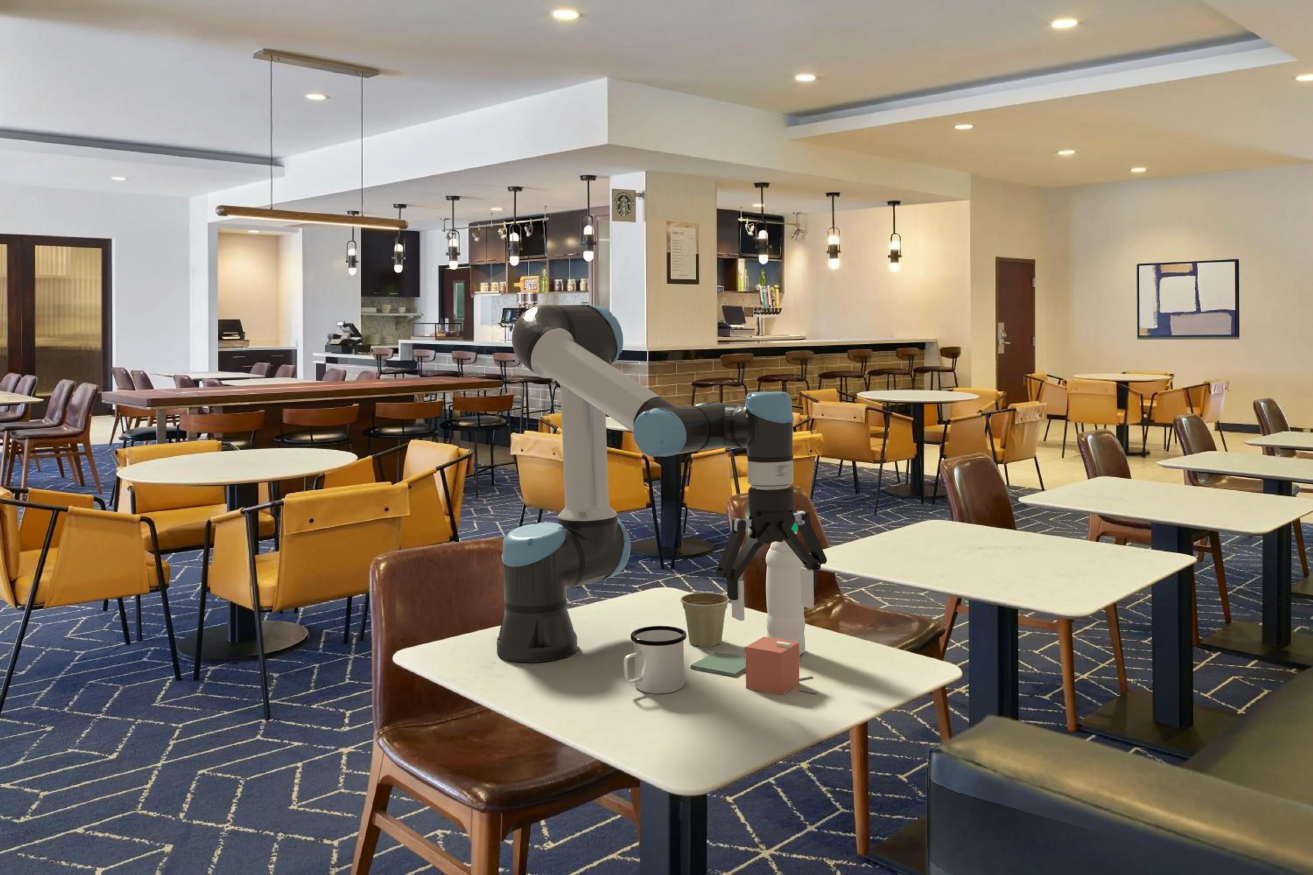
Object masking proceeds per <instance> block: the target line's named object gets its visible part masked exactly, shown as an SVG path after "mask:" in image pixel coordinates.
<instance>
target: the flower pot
mask: <svg viewBox="0 0 1313 875" xmlns="http://www.w3.org/2000/svg"><path fill="white" fill-rule="evenodd" d="M730 601H731V599H729V598H728V596H727V594H722V593H717V592H709V591H708V592H705V591H703V592H694V593H688V594H685V595H683V596H681V597H680V602H681V604H682V608H683V610H684V613H685V614H684V615H685V622H686V628H687V637H688V641H689V644H691V645H692V646H699V647H702V648H707V647H715V646H717V645H719V644H722V640H723V633H724V625H725V617H726V610H727V609H728V603H729V602H730Z"/></svg>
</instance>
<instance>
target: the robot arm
mask: <svg viewBox="0 0 1313 875" xmlns="http://www.w3.org/2000/svg"><path fill="white" fill-rule="evenodd" d="M511 344H512V348H513V352H514V354H515V356H516V358H517V359H518V360H519V361H520V363H521V364H523V366H524V367H525V368H526V369H528V370H529V371H531V372H532V373H534V374H535V375H537V376H538V377H540V378H542V379H550V378H551V379H553V380H554V381H556V382H557V383H558V384H559V385H560V388H559V389H560V408H561V409H560V410H561V411H560V412H561V434H562V436H561V437H562V460H563V486H564V505H565V506H564V508H563V509H562V510H561V511H560V512H559V514H557V522H550V521H549V522H547V521H546V522H538V523H530V524H525V525H522V526H519V527H516V528H514V529H512V530H511V531H509V532H508V533H507V534H506V535H505V536H504V538H503V541H502V554H501V562H502V567H503V568H502V570H503V572H502V573H503V594H504V600H503V601H504V614H503V618H502V621H501V624H500V629H499V632H498V637H497V638H496V654H497V655H498V657H499V658H501V659H504V660H507V661H510V662H516V663H517V662H519V663H542V662H550V661H557V660H560V659H565V658H566V657H570V656H571V655H573V654H575V653H576V652H577V651H578V635H577V633H576V632H575V629H574V626H573V622H572V619H571V617H570V612H569V611H568V604H567V603H568V602H567V601H568V599H567V598H568V596H567V595H568V594H567V589H574V588H576V587H580V586H583V585H588V584H592V583H600V582H604V581H606V580H607V579H609V578H613V577H616V576H617V575H618V574H620V573H621V572H622V571H623V569H624V568H626V566H627V563H628V561H629V558H630V555H631V549H632V548H631V537H630V534H629V532H628V531H626V527H625V525H624V524H623V523H622V522H621V521H620V520H618V513H617V511H616V510H615V509H613V507H611V506H610V499H609V495H610V494H609V473H608V472H609V471H608V467H609V466H608V448H607V447H608V444H607V439H608V438H607V418H606V416H607V417H610V418H611V419H613V420H614V421H615V422H617V423H618V424H620V425H621V426H623V427H625V429H627V430H629V431H631V433H632V434H633V440H634V443H635V444H636V445H637V447H638V449H639V451H640V452H641V453H643V454H644V455H646V456H649V457H662V458H663V457H664V458H665V457H670V456H676V455H681V454H686V453H691V452H699V451H707V450H713V449H722V448H723V449H724V448H727V449H729V448H732V449H746V456H747V458H746V460H747V483H748V485H750V487H749V488H748V489H747V500H748V501H747V502H748V504H747V506H748V509H749V516H748V518H747V519H743V518H742V519H741V518H737V517H734V518H732V520H731V532H730V534H729V537H728V539H727V542H726V544H725V546H724V549H723V552H722V555H721V557H720V560H719V563H718V565H717V568H716V570H715V575H716V576H717V577H720V578H722V579H726V584H727V585H726V592H727V594H726V596H728V598H729V599H730V601H731V618H734V619H736V620H738V621H740V622H742V621H743V622H744V621H745V585H744V584H745V582H744V580H743V579H740V578H741V577H742V575H743V573H744V572H745V570H747V567H748V566H749V564H750V563H751V561H752V559H753V558H754V557H755V555H756V553H757V552H758V550H759V549H760V548H762V547H763V546H764V544H768V545H769V544H771V543H773V542H775V541H776V542H783V540H784V541H785V542H786V543H787V544H788V546H789V547H790V548H791V549H792V550H793V552H794V553H795V554H796V555H797V557H798V558H799V559H800V560H801V561H802V563H803V564H804V565H803V568H800V574H801V606H804V608H807V609H809V610H811V609H815V596H814V595H815V592H814V590H815V588H816V587H817V586H818V576H817V575H818V573H817V572H818V571H819V570H820V569H821V568H822V565H825V564H826V563H828V558H827V556H826V553H825V552H824V549H823V548H822V545H821V543H820V541H819V539H818V537H817V535H816V532H815V530H814V527H813V526H812V519H811V514H810V512H809V511H804V510H801V509H798V510H796V512H794V510H793V509H794V508H795V488H794V487H793V486H791V485H793V483H794V482H795V481H794V479H795V478H794V454H793V448H794V447H793V442H794V441H793V440H794V439H793V438H794V436H793V435H794V421H795V420H794V415H793V404H792V397H791V395H790V394H789V393H788V392H785V391H756V392H755V391H752V392H748V393H747V395H746V397H745V403H730V402H729V403H727V402H726V403H725V402H717V401H711V402H708V401H707V402H700V403H697V404H695V405H688V406H677V405H674V404H673V403H671V402H669V401H668V400H667V399H664V398H663V397H661V396H660V395H658V394H657V393H655V392H654V391H652V390H651V389H649V388H647V387H646V386H645V385H642V384H641V383H639V382H638V381H637V380H635V379H633V378H632V377H631V376H629V375H627V374H626V373H624V372H622V371H621V370H619V369H618V368H616V367H614V366H613V364H614V363H615V362H617V360H618V359H619V358H620V354H622V352H623V347H624V334H623V330H622V327H621V325H620V322H619V321H618V319H617V317H616V316H615V315H613V313H612V312H611V311H610V310H609V309H607V308H605V307H602V306H599V305H591V304H585V303H584V304H555V305H554V304H552V305H551V304H540V305H535V306H533V307H531V308H528V309H527V310H526V311H525V312H523V313H522V314H521V315H520V316H519V317H518V318H517V320H516V322H515V323H514V326H513V329H512V334H511ZM794 523H796V524H797V525H798V530H799V532H800V535H801V537H802V539H803V541H804V543H805V545H804V544H803V543H802V542H801V541H800V539H799V537H798V535H797V534H795V533H794V532H793V530H792V529H791V528H792V526H793V525H794ZM749 530H750V532H749V534H748V536H746V539H745V535H746V532H748V531H749ZM744 540H745V542H744ZM743 542H744V545H743ZM742 545H743V546H742ZM805 546H806V547H807V548H806V547H805ZM741 547H742V548H741Z"/></svg>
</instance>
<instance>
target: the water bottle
mask: <svg viewBox="0 0 1313 875" xmlns="http://www.w3.org/2000/svg"><path fill="white" fill-rule="evenodd" d="M791 529H792V530H793V532H794V533H795V534H796V535H797V534H798V530H799V528H798V525H797V524H796V523H794V525H793V526H792V528H791ZM769 547H770V548H769V549H768V551H767V553H766V556H765V562H766V577H765V594H766V595H765V596H766V598H765V599H766V611H767V612H766V613H767V615H766V631H767V634H766V637H769V638H775V639H782V640H788V641H794V642H799V656H801V655H803V654H804V653H805V651H806V636H805V628H806V619H805V618H806V617H805V614H804V613H805V607H804V606H801V574H800V568H803V567H804V566H805V565H804V564H803V563H802V561H801V560H800V559H799V558H798V557H797V555H796V554H795V553H794V552H793V550H792V549H791V548H790V547H789V546H788V544H787V543H786V542H785V541H784V540H783V542H776V541H775V542H773V543H770V546H769Z"/></svg>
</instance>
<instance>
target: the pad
mask: <svg viewBox="0 0 1313 875" xmlns="http://www.w3.org/2000/svg"><path fill="white" fill-rule="evenodd" d="M690 669H692V670H697V671H702V672H706V673H711V674H712V673H713V674H718V675H723V676H729V677H734V678H736V677H738V676H739V675H740V674H742V673H744V672H746V656H743V655H738V654H733V653H727V652H720V651H714V652H711V654H709V655H707V656H705V657H703V658H701V659H700V660H697V661H696V662H694V663H691V664H690Z"/></svg>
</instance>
